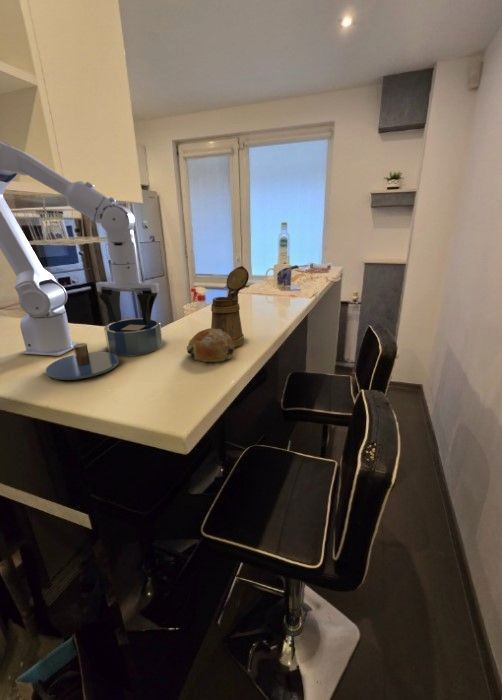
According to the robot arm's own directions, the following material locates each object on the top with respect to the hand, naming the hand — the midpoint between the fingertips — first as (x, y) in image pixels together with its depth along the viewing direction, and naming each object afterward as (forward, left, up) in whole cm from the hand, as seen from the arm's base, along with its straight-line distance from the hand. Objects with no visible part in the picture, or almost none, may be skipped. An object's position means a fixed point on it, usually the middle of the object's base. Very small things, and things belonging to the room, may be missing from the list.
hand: (132, 321), depth 78 cm
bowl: (0, 0, -6) cm, 6 cm away
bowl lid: (-4, -14, -6) cm, 16 cm away
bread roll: (+20, -3, -6) cm, 21 cm away
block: (0, 0, -6) cm, 6 cm away
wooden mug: (+22, +9, -6) cm, 25 cm away
